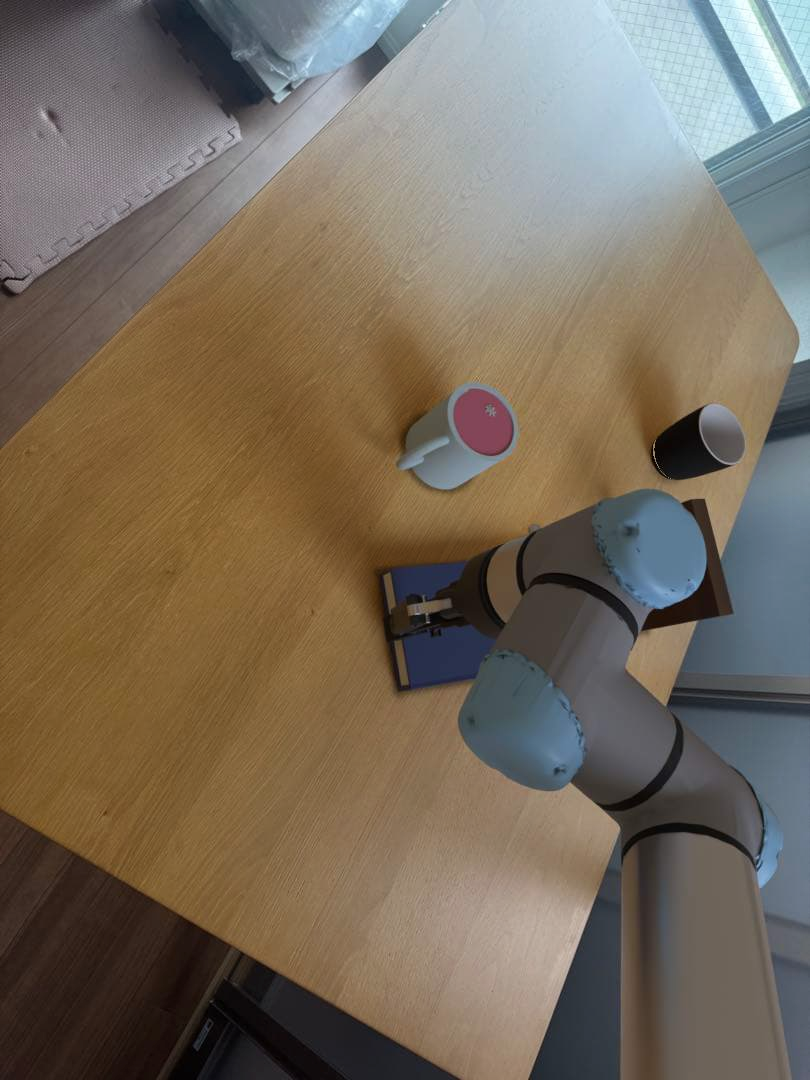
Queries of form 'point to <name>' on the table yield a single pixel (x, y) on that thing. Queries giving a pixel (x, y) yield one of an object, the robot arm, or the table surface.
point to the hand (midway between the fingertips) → (390, 628)
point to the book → (423, 655)
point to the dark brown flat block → (712, 589)
